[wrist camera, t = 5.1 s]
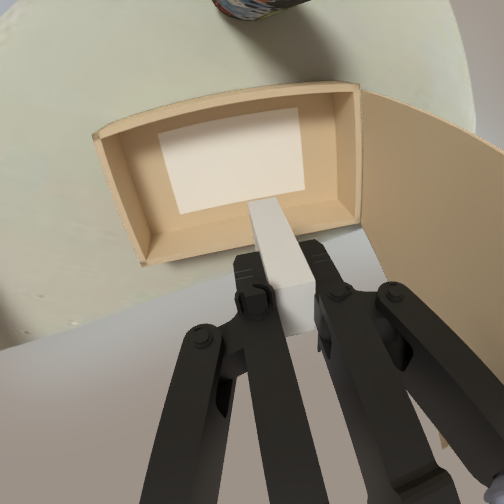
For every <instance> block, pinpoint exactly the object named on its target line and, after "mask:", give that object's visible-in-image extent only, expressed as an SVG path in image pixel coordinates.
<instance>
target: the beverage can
mask: <svg viewBox="0 0 504 504" xmlns="http://www.w3.org/2000/svg"><path fill="white" fill-rule="evenodd" d="M212 1H213V3H214V4H215V6H216V7H217V8H218V9H219V10H220V11H222V12H223V13H224V14H226V15H228V16H230V17H232V18H235V19H239V20H246V21H253V20H259V19H263V18H266V17H268V16H271V15H273V14H275V13H278V12H280V11H283V10H285V9H288V8H291V7H293V6H296V5H299V4H301V3H304V2H307V1H310V0H212Z"/></svg>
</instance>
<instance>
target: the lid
mask: <svg viewBox="0 0 504 504" xmlns="http://www.w3.org/2000/svg"><path fill="white" fill-rule="evenodd" d="M361 94H362V114H363V193H362V214H361V225H362V227H363V229H364V231H365V233H366V235H367V237H368V239H369V241H370V244H371V246H372V248H373V250H374V252H375V254H376V256H377V258H378V260H379V262H380V265H381V267H382V269H383V271H384V273H385V276H386V278H387V280H388V282H389V281H396V282H399V283H402V284H404V285H405V286H407V287H408V288H409V289H410V290H411V291H412V292H413V293H414V294H416V295H417V296H418V297H419V298H420V299H421V300H422V301H423V302H424V303H425V304H426V305H427V306H428V307H429V308H430V309H431V310H433V311H434V312H435V313H436V314H437V315H438V316H439V317H440V318H441V319H442V320H443V321H444V322H445V323H446V324H447V325H448V326H449V327H450V328H451V329H452V330H453V331H454V332H455V333H456V334H457V335H458V336H459V337H460V338H461V339H462V340H463V341H464V342H465V343H466V344H467V345H468V346H469V347H470V349H471V350H472V351H473V352H474V353H475V354H476V355H477V356H478V357H479V358H480V359H481V360H482V361H483V362H484V364H485V365H486V366H487V367H488V368H489V369H490V370H491V371H492V372H493V374H494V375H495V376H496V377H497V378H498V379H499V380H500V382H501V383H502V384H503V385H504V151H503V150H501V149H499V148H498V147H496V146H494V145H493V144H491V143H489V142H487V141H485V140H484V139H482V138H480V137H478V136H477V135H475V134H473V133H471V132H469V131H467V130H465V129H463V128H461V127H459V126H457V125H455V124H453V123H451V122H449V121H446V120H444V119H442V118H440V117H438V116H435V115H433V114H431V113H428V112H426V111H424V110H421V109H419V108H416V107H414V106H411V105H408V104H406V103H403V102H400V101H398V100H395V99H392V98H389V97H386V96H383V95H380V94H377V93H374V92H371V91H367V90H361ZM439 436H440V440H441V445H442V449H445V448H448V447H450V445H449V444H448V443H447V441H446V440H445V439H444V437H443V436H442V435H441V433H440V432H439Z"/></svg>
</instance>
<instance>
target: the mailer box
mask: <svg viewBox="0 0 504 504" xmlns="http://www.w3.org/2000/svg"><path fill="white" fill-rule="evenodd" d="M92 138H93V141H94V144H95V147H96V151H97V154H98V157H99V160H100V163H101V166H102V169H103V172H104V174H105V177H106V180H107V183H108V186H109V188H110V191H111V194H112V196H113V199H114V202H115V204H116V207H117V209H118V212H119V214H120V217H121V219H122V222H123V224H124V227H125V229H126V232H127V234H128V236H129V239H130V241H131V243H132V246H133V248H134V250H135V252H136V255H137V257H138V259H139V261H140V263H141V266H142V267H145V266H150V265H155V264H159V263H164V262H169V261H174V260H179V259H183V258H188V257H193V256H198V255H203V254H207V253H212V252H217V251H222V250H227V249H232V248H237V247H242V246H247V245H251V244H254V239H253V233H252V227H251V221H250V216H249V210H248V204H247V202H251V201H256V200H261V199H267V198H272V197H276V198H277V200H278V202H279V204H280V206H281V209H282V211H283V213H284V215H285V217H286V219H287V221H288V223H289V225H290V227H291V229H292V231H293V233H294V235H295V236H296V235H301V234H306V233H311V232H316V231H321V230H326V229H331V228H336V227H341V226H347V225H352V224H357V223H360V215H361V195H362V115H361V96H360V84H356V83H349V82H342V81H314V82H299V83H287V84H277V85H269V86H261V87H253V88H247V89H240V90H234V91H228V92H223V93H218V94H212V95H208V96H203V97H198V98H194V99H190V100H185V101H181V102H177V103H173V104H170V105H166V106H162V107H159V108H155V109H152V110H148V111H145V112H142V113H138V114H135V115H132V116H129V117H126V118H123V119H120V120H117V121H115V122H112V123H110V124H108V125H106V126H104V127H103V128H101V129H99V130H98V131H96V132H94V133H93V134H92Z"/></svg>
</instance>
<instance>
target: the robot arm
mask: <svg viewBox="0 0 504 504" xmlns="http://www.w3.org/2000/svg"><path fill="white" fill-rule="evenodd" d="M247 204H248V210H249V216H250V221H251V227H252V233H253V239H254V244H255V249H256V252H252V253H247V254H242V255H237V256H236V258H235V261H234V263H233V266H234V274H235V281H236V288H237V292H236V293H235V303H236V306H237V310H238V312H237V314H236V315H235V317H234V318H233V319H232V320H231V321H229V322H227V323H225V324H223V325H221V326H219V327H216V326H214V325H211V324H199V325H197V326H195V327H193V328H191V329H190V330H189V331H188V332H187V333H186V335H185V337H184V339H183V343H182V346H181V349H180V352H179V356H178V359H177V362H176V366H175V369H174V373H173V376H172V379H171V383H170V386H169V390H168V394H167V397H166V401H165V404H164V408H163V412H162V415H161V419H160V423H159V426H158V430H157V434H156V437H155V442H154V445H153V449H152V453H151V457H150V461H149V465H148V469H147V473H146V477H145V481H144V486H143V490H142V494H141V498H140V503H139V504H217V501H218V494H219V488H220V482H221V475H222V469H223V462H224V456H225V450H226V444H227V437H228V431H229V423H230V417H231V412H232V404H233V399H234V392H235V385H236V379H237V377H238V376H239V375H242V374H244V373H246V372H248V379H249V385H250V392H251V398H252V403H253V410H254V416H255V422H256V427H257V434H258V440H259V445H260V451H261V457H262V463H263V468H264V474H265V479H266V485H267V490H268V495H269V501H270V504H329V501H328V496H327V493H326V489H325V485H324V481H323V477H322V473H321V469H320V465H319V462H318V458H317V454H316V450H315V446H314V443H313V439H312V435H311V431H310V427H309V424H308V420H307V416H306V412H305V408H304V405H303V401H302V398H301V394H300V390H299V386H298V382H297V379H296V375H295V371H294V368H293V364H292V360H291V357H290V353H289V350H288V346H287V342H286V338H285V337H288V336H293V335H297V334H302V333H306V332H310V331H314V330H315V324H316V327H317V330H318V352H320V351H321V350H322V353H323V356H324V358H325V361H326V364H327V367H328V370H329V373H330V376H331V379H332V382H333V385H334V388H335V391H336V394H337V397H338V400H339V403H340V405H341V408H342V412H343V415H344V418H345V421H346V424H347V427H348V431H349V434H350V437H351V440H352V443H353V446H354V450H355V453H356V456H357V459H358V463H359V466H360V469H361V473H362V476H363V479H364V482H365V486H366V490H367V494H368V500H367V504H461V503H460V500H459V497H458V494H457V491H456V488H455V485H454V482H453V480H452V477H451V475H450V474H449V473H448V472H447V471H446V470H445V469H443V468H441V467H439V466H438V464H437V463H436V461H435V459H434V456H433V454H432V451H431V448H430V446H429V443H428V441H427V438H426V436H425V433H424V431H423V428H422V426H421V423H420V421H419V419H418V416H417V414H416V412H415V409H414V407H413V405H412V402H411V400H410V398H409V396H408V394H407V391H408V392H409V394H410V395H411V396H412V397H413V399H414V400H415V401H416V402H417V404H418V405H419V406H420V408H421V409H422V410H423V411H424V413H425V414H426V415H427V417H428V418H429V419H430V420H431V422H432V423H433V424H434V426H436V428H437V429H438V431H439V432H440V433H441V435H442V436H443V437H444V439H445V440H446V441H447V443H448V444H449V445H450V447H451V448H452V449H453V450H454V452H455V453H456V454H457V456H458V457H459V459H460V460H461V461H462V462H463V464H464V465H465V467H466V468H467V469H468V471H469V472H470V473H471V474H472V475H473V476H474V478H476V479H477V480H478V481H479V482H480V483H481V484H483V485H485V486H486V487H488V489H487V490H486V492H485V494H484V501H485V502H487V503H489V504H504V385H503V384H502V383H501V382H500V380H499V379H498V378H497V377H496V376H495V375H494V374H493V372H492V371H491V370H490V369H489V368H488V367H487V366H486V365H485V364H484V362H483V361H482V360H481V359H480V358H479V357H478V356H477V355H476V354H475V353H474V352H473V351H472V350H471V349H470V347H469V346H468V345H467V344H466V343H465V342H464V341H463V340H462V339H461V338H460V337H459V336H458V335H457V334H456V333H455V332H454V331H453V330H452V329H451V328H450V327H449V326H448V325H447V324H446V323H445V322H444V321H443V320H442V319H441V318H440V317H439V316H438V315H437V314H436V313H435V312H434V311H433V310H431V309H430V308H429V307H428V306H427V305H426V304H425V303H424V302H423V301H422V300H421V299H420V298H419V297H418V296H417V295H416V294H414V293H413V292H412V291H411V290H410V289H409V288H408V287H407V286H405V285H404V284H402V283H399V282H396V281H389V282H386V283H383V284H382V285H381V286H380V287H379V289H378V291H377V292H363V291H357V290H355V289H354V288H353V287H352V286H351V285H349V284H348V283H346V282H344V281H343V280H342V278H341V276H340V274H339V272H338V270H337V269H336V267H335V265H334V263H333V262H332V260H331V258H330V256H329V255H328V254H327V251H326V249H325V248H324V246H323V244H321V243H320V242H318V241H317V240H315V239H313V240H308V241H303V242H297V240H296V238H295V235H294V233H293V231H292V229H291V227H290V225H289V223H288V221H287V219H286V217H285V215H284V213H283V211H282V209H281V206H280V204H279V202H278V200H277V198H276V197H272V198H267V199H261V200H256V201H251V202H247ZM406 390H407V391H406Z"/></svg>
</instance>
